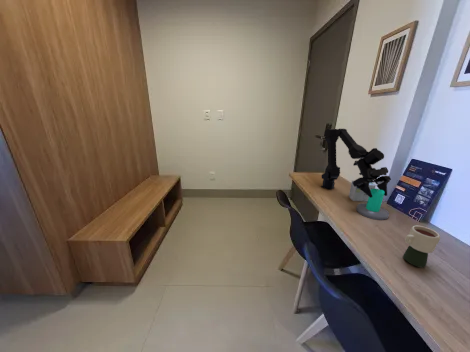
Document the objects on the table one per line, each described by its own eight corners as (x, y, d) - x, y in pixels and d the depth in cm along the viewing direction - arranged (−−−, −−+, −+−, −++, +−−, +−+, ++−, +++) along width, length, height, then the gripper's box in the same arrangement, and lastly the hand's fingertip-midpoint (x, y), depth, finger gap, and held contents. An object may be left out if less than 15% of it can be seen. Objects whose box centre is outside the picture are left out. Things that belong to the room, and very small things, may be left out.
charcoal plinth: (351, 210, 107) (352, 207, 106) (364, 204, 114) (364, 201, 114) (380, 222, 96) (381, 219, 95) (392, 215, 103) (393, 211, 103)
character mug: (420, 255, 75) (432, 225, 71) (438, 270, 68) (452, 238, 64) (391, 254, 75) (401, 224, 71) (405, 269, 69) (417, 237, 64)
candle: (374, 206, 108) (380, 185, 104) (382, 212, 102) (388, 190, 98) (363, 206, 107) (368, 185, 103) (370, 212, 102) (376, 190, 98)
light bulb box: (366, 197, 123) (370, 181, 120) (371, 202, 117) (376, 185, 113) (347, 196, 124) (351, 180, 121) (352, 201, 118) (356, 184, 114)
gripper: (362, 162, 98) (376, 192, 91) (392, 160, 102) (408, 189, 95) (347, 172, 107) (359, 200, 101) (375, 170, 112) (388, 197, 105)
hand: (378, 196), depth 100 cm, fingers open, 9 cm apart
